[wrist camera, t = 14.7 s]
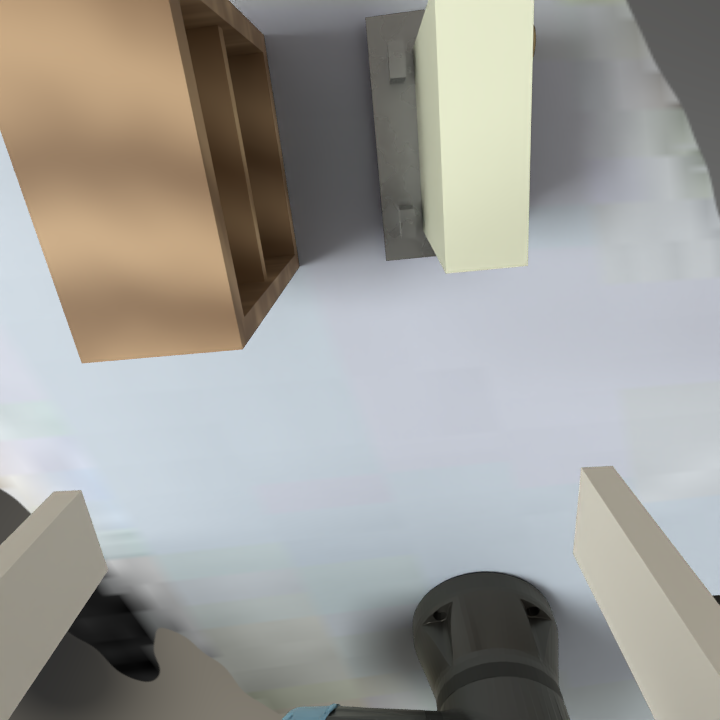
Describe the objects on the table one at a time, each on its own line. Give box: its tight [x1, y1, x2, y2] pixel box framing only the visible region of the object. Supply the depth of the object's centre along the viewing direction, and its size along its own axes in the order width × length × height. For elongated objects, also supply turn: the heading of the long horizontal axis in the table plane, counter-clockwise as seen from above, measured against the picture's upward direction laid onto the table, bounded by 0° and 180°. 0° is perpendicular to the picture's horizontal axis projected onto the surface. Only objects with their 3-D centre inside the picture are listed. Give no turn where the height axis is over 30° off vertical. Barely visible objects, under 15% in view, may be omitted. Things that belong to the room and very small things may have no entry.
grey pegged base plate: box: [365, 9, 436, 261], centre depth 34 cm, size 16×10×4 cm, turn 6°
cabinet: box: [0, 0, 299, 363], centre depth 29 cm, size 16×8×18 cm, turn 6°
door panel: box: [413, 0, 536, 273], centre depth 29 cm, size 12×5×14 cm, turn 6°
